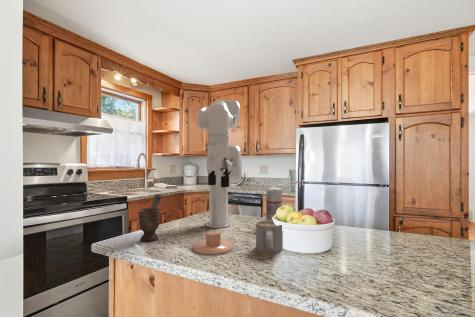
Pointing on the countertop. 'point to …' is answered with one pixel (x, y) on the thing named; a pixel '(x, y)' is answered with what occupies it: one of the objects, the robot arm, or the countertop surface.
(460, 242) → the countertop surface
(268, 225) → the coffee mug
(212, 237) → the lid
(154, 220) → the mortar and pestle
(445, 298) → the countertop surface
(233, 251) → the mat
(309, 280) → the countertop surface
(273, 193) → the spray can
